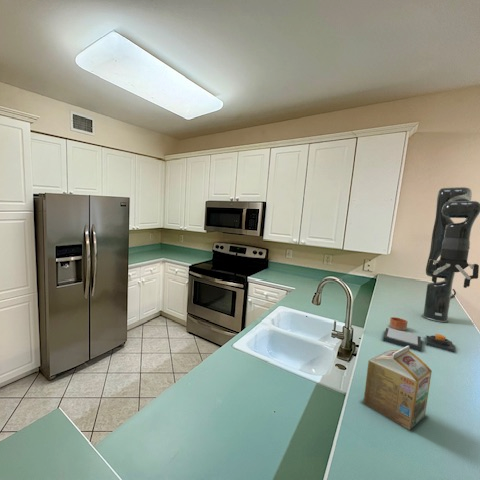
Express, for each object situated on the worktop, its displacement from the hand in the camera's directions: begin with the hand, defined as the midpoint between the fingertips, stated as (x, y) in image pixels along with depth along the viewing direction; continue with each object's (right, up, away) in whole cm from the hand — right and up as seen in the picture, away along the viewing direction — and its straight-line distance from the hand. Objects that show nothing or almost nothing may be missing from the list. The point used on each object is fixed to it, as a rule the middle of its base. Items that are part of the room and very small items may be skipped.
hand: (449, 285), depth 108 cm
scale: (-13, -28, +8) cm, 31 cm away
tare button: (+1, -26, +5) cm, 26 cm away
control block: (+1, -28, +5) cm, 29 cm away
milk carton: (-56, -31, -33) cm, 72 cm away
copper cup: (-2, -26, +21) cm, 34 cm away
